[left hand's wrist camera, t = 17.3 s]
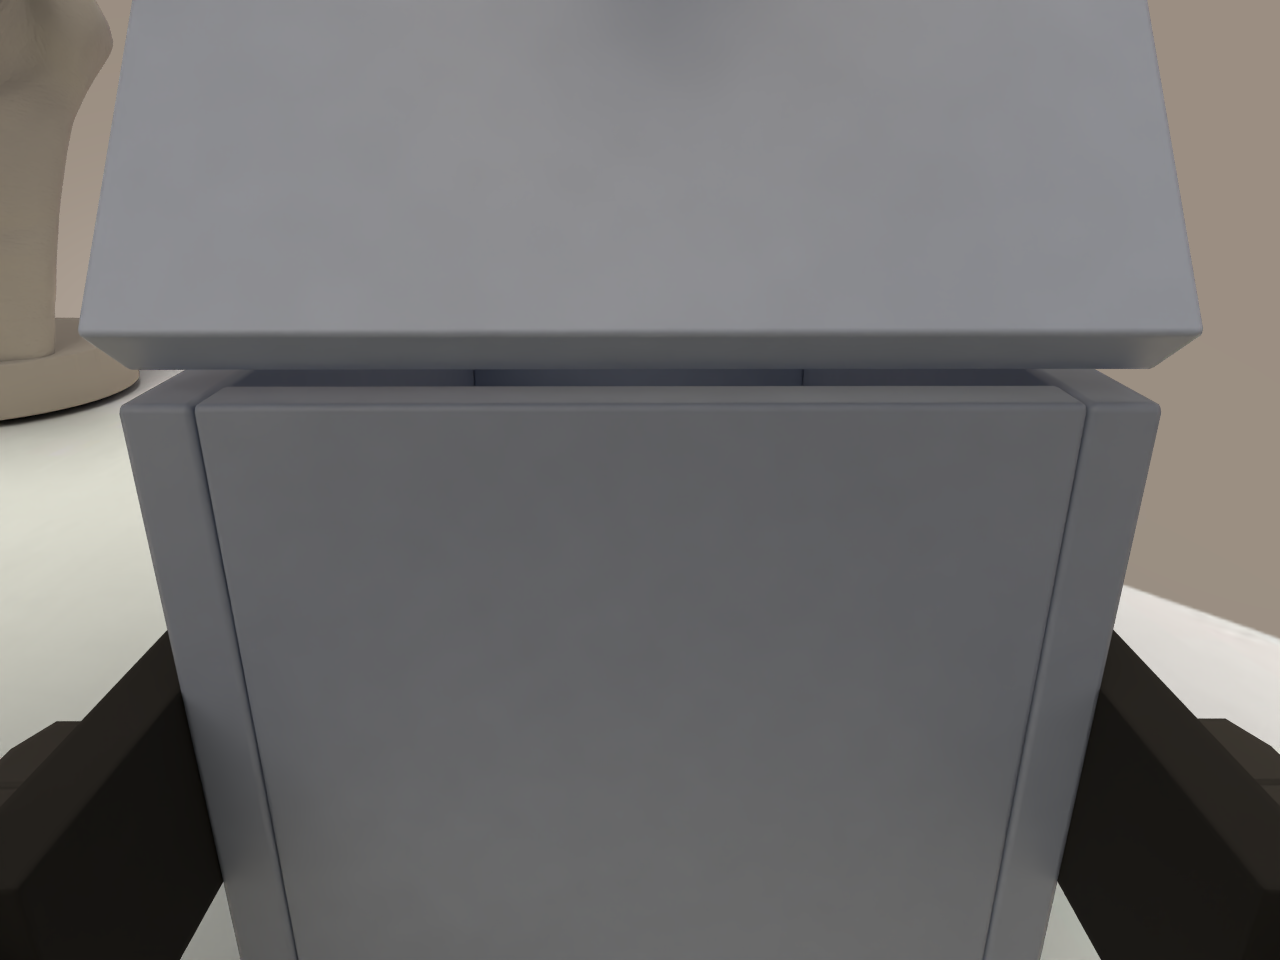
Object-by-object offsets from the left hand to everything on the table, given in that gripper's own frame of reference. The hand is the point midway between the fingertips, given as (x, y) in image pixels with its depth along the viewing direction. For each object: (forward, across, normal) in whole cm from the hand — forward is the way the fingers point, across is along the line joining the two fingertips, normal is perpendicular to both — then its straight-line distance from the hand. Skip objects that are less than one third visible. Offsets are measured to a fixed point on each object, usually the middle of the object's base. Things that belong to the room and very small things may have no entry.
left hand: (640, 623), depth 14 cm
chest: (+4, 0, -6) cm, 7 cm away
